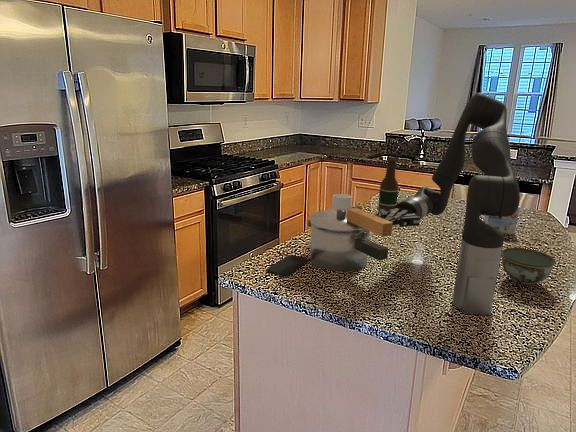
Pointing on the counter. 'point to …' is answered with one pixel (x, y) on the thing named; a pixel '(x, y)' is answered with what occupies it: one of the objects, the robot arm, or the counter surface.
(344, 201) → the drinking glass
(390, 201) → the beer bottle
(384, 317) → the counter surface
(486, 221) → the light bulb box
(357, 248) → the pot
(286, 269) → the phone
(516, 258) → the bowl
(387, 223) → the lid
